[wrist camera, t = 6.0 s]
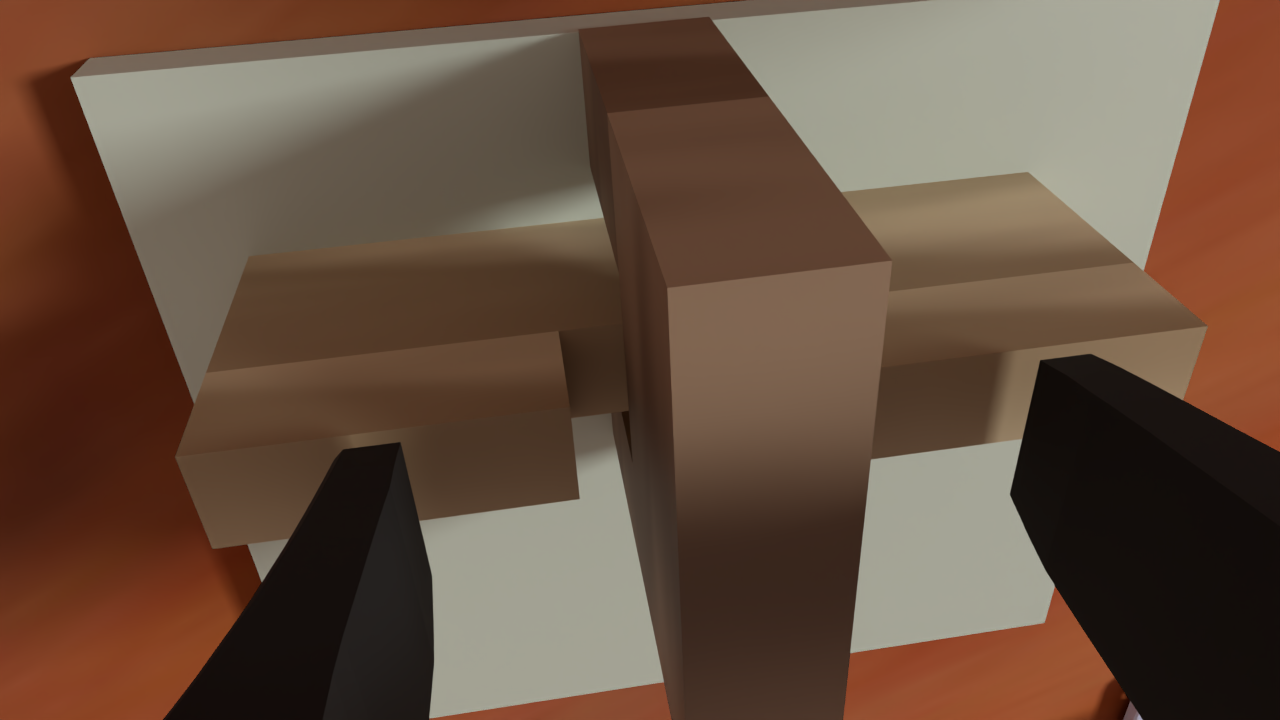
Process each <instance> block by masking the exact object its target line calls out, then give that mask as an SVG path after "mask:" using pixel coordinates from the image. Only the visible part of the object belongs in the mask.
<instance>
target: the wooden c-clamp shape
mask: <svg viewBox="0 0 1280 720" xmlns="http://www.w3.org/2000/svg"><path fill="white" fill-rule="evenodd" d="M578 31H579V43H580V55H581V66H582V78H583V90H584V101H585V113H586V125H587V136H588V148H589V160H590V169H591V172H592V176H593V180H594V183H595V187H596V191H597V194H598V198H599V202H600V206H601V209H602V213H603V217H604V220H605V224H606V228H607V231H608V235H609V239H610V242H611V246H612V250H613V254H614V257H615V261H616V265H617V268H618V272H619V282H620V295H621V309H622V323H623V336H624V350H625V364H626V378H627V391H628V405H629V411H624V412H616V413H611V416H612V427H613V435H614V440H615V445H616V450H617V455H618V460H619V465H620V470H621V475H622V479H623V484H624V489H625V494H626V499H627V504H628V509H629V514H630V518H631V523H632V528H633V533H634V538H635V543H636V548H637V553H638V557H639V562H640V567H641V572H642V577H643V582H644V587H645V592H646V597H647V601H648V606H649V611H650V616H651V621H652V626H653V631H654V636H655V640H656V645H657V650H658V655H659V660H660V665H661V670H662V675H663V679H664V684H665V689H666V694H667V699H668V704H669V709H670V714H671V719H672V720H843V715H844V705H845V696H846V687H847V677H848V668H849V659H850V650H851V640H852V631H853V622H854V612H855V603H856V594H857V584H858V575H859V566H860V557H861V547H862V538H863V529H864V519H865V510H866V501H867V491H868V482H869V473H870V464H871V454H872V445H873V436H874V426H875V417H876V408H877V398H878V389H879V380H880V371H881V361H882V352H883V343H884V333H885V324H886V315H887V305H888V296H889V287H890V278H891V268H892V259H891V258H890V257H889V255H888V254H887V253H886V251H885V250H884V249H883V248H882V246H881V245H880V244H879V242H878V241H877V240H876V238H875V237H874V236H873V234H872V233H871V232H870V230H869V229H868V228H867V226H866V225H865V224H864V222H863V221H862V220H861V218H860V217H859V216H858V214H857V213H856V212H855V210H854V209H853V208H852V206H851V205H850V204H849V202H848V201H847V200H846V198H845V197H844V196H843V194H842V193H841V192H840V190H839V189H838V188H837V186H836V185H835V184H834V182H833V181H832V180H831V178H830V177H829V176H828V174H827V173H826V172H825V170H824V169H823V168H822V166H821V165H820V164H819V162H818V161H817V160H816V158H815V157H814V156H813V154H812V153H811V152H810V150H809V149H808V148H807V146H806V145H805V144H804V142H803V141H802V140H801V138H800V137H799V136H798V134H797V133H796V132H795V130H794V129H793V128H792V126H791V125H790V124H789V122H788V121H787V120H786V118H785V117H784V116H783V114H782V113H781V112H780V110H779V109H778V108H777V106H776V105H775V104H774V102H773V101H772V100H771V98H770V97H769V96H768V94H767V93H766V92H765V90H764V89H763V88H762V86H761V85H760V84H759V82H758V81H757V80H756V78H755V77H754V76H753V74H752V73H751V72H750V70H749V69H748V68H747V66H746V65H745V64H744V62H743V61H742V60H741V58H740V57H739V56H738V54H737V53H736V52H735V50H734V49H733V48H732V46H731V45H730V44H729V42H728V41H727V40H726V38H725V37H724V36H723V34H722V33H721V32H720V30H719V29H718V28H717V26H716V25H715V24H714V22H713V21H712V20H711V18H710V17H700V18H690V19H680V20H669V21H659V22H648V23H638V24H628V25H617V26H607V27H596V28H586V29H578Z"/></svg>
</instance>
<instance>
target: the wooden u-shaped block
mask: <svg viewBox="0 0 1280 720" xmlns="http://www.w3.org/2000/svg"><path fill="white" fill-rule="evenodd" d="M841 193H842V194H843V196H844V197H845V198H846V200H847V201H848V202H849V204H850V205H851V206H852V208H853V209H854V210H855V212H856V213H857V214H858V216H859V217H860V218H861V220H862V221H863V222H864V224H865V225H866V226H867V228H868V229H869V230H870V232H871V233H872V234H873V236H874V237H875V238H876V240H877V241H878V242H879V244H880V245H881V246H882V248H883V249H884V250H885V251H886V253H887V254H888V255H889V257H890V258H891V259H892V268H891V278H890V287H889V296H888V305H887V315H886V324H885V333H884V343H883V352H882V361H881V371H880V380H879V389H878V398H877V408H876V417H875V426H874V436H873V445H872V454H871V459H879V458H886V457H894V456H901V455H908V454H916V453H923V452H930V451H938V450H945V449H952V448H960V447H967V446H974V445H982V444H989V443H997V442H1004V441H1011V440H1019V439H1022V438H1023V433H1024V429H1025V425H1026V420H1027V416H1028V411H1029V407H1030V402H1031V398H1032V394H1033V389H1034V385H1035V380H1036V376H1037V372H1038V367H1039V363H1040V360H1045V359H1053V358H1061V357H1069V356H1076V355H1084V354H1093V355H1095V356H1097V357H1099V358H1102V359H1104V360H1106V361H1108V362H1110V363H1112V364H1114V365H1116V366H1119V367H1121V368H1123V369H1125V370H1127V371H1128V372H1130V373H1132V374H1134V375H1136V376H1138V377H1140V378H1142V379H1144V380H1146V381H1148V382H1150V383H1152V384H1153V385H1155V386H1157V387H1159V388H1161V389H1163V390H1165V391H1167V392H1168V393H1170V394H1172V395H1174V396H1176V397H1178V398H1180V399H1181V400H1183V399H1184V396H1185V393H1186V390H1187V387H1188V384H1189V381H1190V378H1191V375H1192V372H1193V369H1194V366H1195V363H1196V360H1197V357H1198V354H1199V351H1200V348H1201V345H1202V342H1203V339H1204V336H1205V333H1206V330H1207V327H1208V326H1207V325H1206V324H1205V323H1204V322H1202V321H1201V320H1200V319H1199V318H1198V317H1197V316H1195V315H1194V314H1193V313H1192V312H1191V311H1190V310H1188V309H1187V308H1186V307H1185V306H1184V305H1183V304H1181V303H1180V302H1179V301H1178V300H1177V299H1176V298H1174V297H1173V296H1172V295H1171V294H1170V293H1169V292H1167V291H1166V290H1165V289H1164V288H1163V287H1162V286H1160V285H1159V284H1158V283H1157V282H1156V281H1155V280H1153V279H1152V278H1151V277H1150V276H1149V275H1148V274H1146V273H1145V272H1144V271H1143V270H1142V269H1141V268H1139V267H1138V266H1137V265H1136V264H1135V263H1134V262H1132V261H1131V260H1130V259H1129V258H1128V257H1127V256H1125V255H1124V254H1123V253H1122V252H1121V251H1120V250H1118V249H1117V248H1116V247H1115V246H1114V245H1113V244H1111V243H1110V242H1109V241H1108V240H1107V239H1106V238H1104V237H1103V236H1102V235H1101V234H1100V233H1099V232H1097V231H1096V230H1095V229H1094V228H1093V227H1092V226H1090V225H1089V224H1088V223H1087V222H1086V221H1085V220H1083V219H1082V218H1081V217H1080V216H1079V215H1078V214H1077V213H1075V212H1074V211H1073V210H1072V209H1071V208H1070V207H1068V206H1067V205H1066V204H1065V203H1064V202H1063V201H1061V200H1060V199H1059V198H1058V197H1057V196H1056V195H1054V194H1053V193H1052V192H1051V191H1050V190H1049V189H1047V188H1046V187H1045V186H1044V185H1043V184H1042V183H1040V182H1039V181H1038V180H1037V179H1036V178H1035V177H1033V176H1032V175H1031V174H1030V173H1029V172H1022V173H1013V174H1004V175H995V176H985V177H976V178H967V179H958V180H948V181H939V182H930V183H921V184H911V185H902V186H893V187H884V188H874V189H865V190H856V191H847V192H841ZM624 411H629V405H628V391H627V378H626V364H625V350H624V336H623V323H622V309H621V295H620V282H619V272H618V268H617V265H616V261H615V257H614V254H613V250H612V246H611V242H610V239H609V235H608V231H607V228H606V224H605V220H604V218H597V219H588V220H579V221H570V222H561V223H551V224H542V225H533V226H524V227H514V228H505V229H496V230H487V231H477V232H468V233H459V234H450V235H441V236H431V237H422V238H413V239H404V240H394V241H385V242H376V243H367V244H357V245H348V246H339V247H330V248H320V249H311V250H302V251H293V252H284V253H274V254H265V255H256V256H249V257H248V260H247V263H246V265H245V268H244V271H243V274H242V276H241V279H240V282H239V284H238V287H237V290H236V293H235V295H234V298H233V301H232V303H231V306H230V309H229V312H228V314H227V317H226V320H225V322H224V325H223V328H222V331H221V333H220V336H219V339H218V341H217V344H216V347H215V350H214V352H213V355H212V358H211V360H210V363H209V366H208V369H207V371H206V374H205V377H204V379H203V382H202V385H201V388H200V390H199V393H198V396H197V398H196V401H195V404H194V407H193V409H192V412H191V415H190V417H189V420H188V423H187V426H186V428H185V431H184V434H183V436H182V439H181V442H180V445H179V447H178V450H177V453H176V455H175V458H176V461H177V463H178V466H179V468H180V471H181V473H182V476H183V478H184V480H185V483H186V485H187V488H188V490H189V493H190V495H191V498H192V500H193V502H194V505H195V507H196V510H197V512H198V515H199V517H200V520H201V522H202V524H203V527H204V529H205V532H206V534H207V537H208V539H209V542H210V544H211V546H212V549H217V548H224V547H231V546H239V545H246V544H253V543H261V542H268V541H276V540H283V539H289V538H290V537H291V535H292V533H293V532H294V530H295V528H296V527H297V525H298V523H299V522H300V520H301V518H302V517H303V515H304V513H305V511H306V510H307V508H308V506H309V504H310V503H311V501H312V499H313V497H314V496H315V494H316V492H317V490H318V488H319V486H320V485H321V483H322V481H323V479H324V477H325V476H326V474H327V472H328V470H329V468H330V466H331V464H332V463H333V461H334V459H335V458H336V457H337V456H338V454H339V453H340V452H341V451H342V450H343V449H350V448H358V447H365V446H373V445H381V444H389V443H397V442H401V446H402V450H403V454H404V459H405V463H406V467H407V471H408V476H409V480H410V484H411V488H412V493H413V497H414V501H415V505H416V509H417V514H418V518H419V521H423V520H430V519H437V518H445V517H452V516H459V515H467V514H474V513H482V512H489V511H496V510H504V509H511V508H518V507H526V506H533V505H540V504H548V503H555V502H562V501H570V500H577V499H580V496H579V486H578V477H577V468H576V458H575V449H574V440H573V430H572V421H571V418H577V417H585V416H593V415H600V414H608V413H616V412H624Z"/></svg>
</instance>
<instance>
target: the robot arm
mask: <svg viewBox="0 0 1280 720" xmlns="http://www.w3.org/2000/svg"><path fill="white" fill-rule="evenodd" d="M1010 496H1011V498H1012V501H1013V503H1014V505H1015V507H1016V510H1017V512H1018V514H1019V516H1020V519H1021V521H1022V523H1023V525H1024V527H1025V530H1026V532H1027V534H1028V536H1029V538H1030V540H1031V542H1032V544H1033V546H1034V548H1035V550H1036V552H1037V555H1038V557H1039V559H1040V561H1041V563H1042V565H1043V567H1044V569H1045V571H1046V572H1047V574H1048V575H1049V577H1050V579H1051V580H1052V582H1053V583H1054V585H1055V587H1056V588H1057V590H1058V591H1059V593H1060V594H1061V596H1062V597H1063V599H1064V601H1065V602H1066V604H1067V605H1068V607H1069V608H1070V610H1071V611H1072V613H1073V614H1074V616H1075V618H1076V619H1077V621H1078V622H1079V624H1080V625H1081V627H1082V628H1083V630H1084V631H1085V633H1086V634H1087V636H1088V638H1089V639H1090V641H1091V642H1092V644H1093V645H1094V647H1095V648H1096V650H1097V651H1098V653H1099V654H1100V656H1101V657H1102V659H1103V660H1104V662H1105V663H1106V665H1107V666H1108V668H1109V669H1110V671H1111V672H1112V674H1113V675H1114V677H1115V678H1116V680H1117V681H1118V683H1119V684H1120V686H1121V688H1122V689H1123V691H1124V692H1125V694H1126V695H1127V697H1128V698H1129V700H1130V703H1129V706H1128V708H1127V711H1126V714H1125V716H1124V719H1123V720H1280V452H1279V451H1277V450H1275V449H1273V448H1271V447H1269V446H1267V445H1265V444H1263V443H1262V442H1260V441H1258V440H1256V439H1254V438H1252V437H1250V436H1248V435H1246V434H1245V433H1243V432H1241V431H1239V430H1237V429H1235V428H1233V427H1231V426H1230V425H1228V424H1226V423H1224V422H1222V421H1220V420H1218V419H1217V418H1215V417H1213V416H1211V415H1209V414H1207V413H1205V412H1204V411H1202V410H1200V409H1198V408H1196V407H1194V406H1192V405H1191V404H1189V403H1187V402H1185V401H1183V400H1181V399H1180V398H1178V397H1176V396H1174V395H1172V394H1170V393H1168V392H1167V391H1165V390H1163V389H1161V388H1159V387H1157V386H1155V385H1153V384H1152V383H1150V382H1148V381H1146V380H1144V379H1142V378H1140V377H1138V376H1136V375H1134V374H1132V373H1130V372H1128V371H1127V370H1125V369H1123V368H1121V367H1119V366H1116V365H1114V364H1112V363H1110V362H1108V361H1106V360H1104V359H1102V358H1099V357H1097V356H1095V355H1093V354H1084V355H1076V356H1069V357H1061V358H1053V359H1045V360H1040V363H1039V367H1038V372H1037V376H1036V380H1035V385H1034V389H1033V394H1032V398H1031V402H1030V407H1029V411H1028V416H1027V420H1026V425H1025V429H1024V433H1023V438H1022V442H1021V447H1020V451H1019V455H1018V460H1017V464H1016V469H1015V473H1014V478H1013V482H1012V486H1011V491H1010ZM433 671H434V619H433V585H432V573H431V569H430V565H429V560H428V556H427V552H426V548H425V543H424V539H423V535H422V531H421V526H420V522H419V518H418V514H417V509H416V505H415V501H414V497H413V493H412V488H411V484H410V480H409V476H408V471H407V467H406V463H405V459H404V454H403V450H402V446H401V442H397V443H389V444H381V445H373V446H365V447H358V448H350V449H343V450H342V451H341V452H340V453H339V454H338V456H337V457H336V458H335V459H334V461H333V463H332V464H331V466H330V468H329V470H328V472H327V474H326V476H325V477H324V479H323V481H322V483H321V485H320V486H319V488H318V490H317V492H316V494H315V496H314V497H313V499H312V501H311V503H310V504H309V506H308V508H307V510H306V511H305V513H304V515H303V517H302V518H301V520H300V522H299V523H298V525H297V527H296V528H295V530H294V532H293V533H292V535H291V537H290V538H289V540H288V542H287V544H286V545H285V547H284V548H283V550H282V552H281V553H280V555H279V556H278V558H277V559H276V561H275V563H274V564H273V566H272V567H271V569H270V570H269V572H268V574H267V575H266V577H265V578H264V580H263V581H262V583H261V585H260V586H259V588H258V589H257V591H256V592H255V594H254V596H253V597H252V599H251V600H250V602H249V603H248V605H247V606H246V608H245V609H244V611H243V612H242V614H241V615H240V616H239V618H238V619H237V621H236V622H235V623H234V625H233V626H232V628H231V629H230V630H229V632H228V633H227V635H226V636H225V637H224V639H223V640H222V642H221V643H220V644H219V646H218V647H217V649H216V650H215V651H214V653H213V654H212V656H211V657H210V658H209V660H208V661H207V663H206V664H205V665H204V667H203V668H202V670H201V671H200V672H199V674H198V675H197V677H196V678H195V679H194V681H193V682H192V683H191V684H190V686H189V687H188V688H187V690H186V691H185V692H184V694H183V695H182V696H181V697H180V699H179V700H178V701H177V703H176V704H175V705H174V706H173V708H172V709H171V710H170V711H169V713H168V714H167V715H166V716H165V718H164V719H163V720H429V716H430V705H431V694H432V682H433Z"/></svg>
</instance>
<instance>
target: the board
mask: <svg viewBox="0 0 1280 720" xmlns="http://www.w3.org/2000/svg"><path fill="white" fill-rule="evenodd" d="M1219 1H1220V0H747V1H736V2H724V3H713V4H701V5H690V6H679V7H667V8H656V9H645V10H633V11H622V12H611V13H599V14H588V15H576V16H565V17H554V18H542V19H531V20H520V21H508V22H497V23H485V24H474V25H463V26H451V27H440V28H429V29H417V30H406V31H395V32H383V33H372V34H360V35H349V36H338V37H326V38H315V39H304V40H292V41H281V42H269V43H258V44H247V45H235V46H224V47H213V48H201V49H190V50H179V51H167V52H156V53H144V54H133V55H122V56H110V57H99V58H89V59H88V60H87V61H86V62H85V63H84V64H83V65H82V66H81V67H80V68H79V69H78V70H77V71H76V72H75V73H74V74H73V75H72V76H71V77H70V78H71V80H72V83H73V86H74V88H75V91H76V94H77V96H78V99H79V102H80V104H81V107H82V109H83V112H84V115H85V117H86V120H87V123H88V125H89V128H90V131H91V133H92V136H93V139H94V141H95V144H96V146H97V149H98V152H99V154H100V157H101V160H102V162H103V165H104V168H105V170H106V173H107V175H108V178H109V181H110V183H111V186H112V189H113V191H114V194H115V197H116V199H117V202H118V204H119V207H120V210H121V212H122V215H123V218H124V220H125V223H126V226H127V228H128V231H129V233H130V236H131V239H132V241H133V244H134V247H135V249H136V252H137V255H138V257H139V260H140V262H141V265H142V268H143V270H144V273H145V276H146V278H147V281H148V284H149V286H150V289H151V291H152V294H153V297H154V299H155V302H156V305H157V307H158V310H159V313H160V315H161V318H162V320H163V323H164V326H165V328H166V331H167V334H168V336H169V339H170V342H171V344H172V347H173V349H174V352H175V355H176V357H177V360H178V363H179V365H180V368H181V371H182V373H183V376H184V378H185V381H186V384H187V386H188V389H189V392H190V394H191V397H192V400H193V402H194V404H195V401H196V398H197V396H198V393H199V390H200V388H201V385H202V382H203V379H204V377H205V374H206V371H207V369H208V366H209V363H210V360H211V358H212V355H213V352H214V350H215V347H216V344H217V341H218V339H219V336H220V333H221V331H222V328H223V325H224V322H225V320H226V317H227V314H228V312H229V309H230V306H231V303H232V301H233V298H234V295H235V293H236V290H237V287H238V284H239V282H240V279H241V276H242V274H243V271H244V268H245V265H246V263H247V260H248V257H249V256H256V255H265V254H274V253H284V252H293V251H302V250H311V249H320V248H330V247H339V246H348V245H357V244H367V243H376V242H385V241H394V240H404V239H413V238H422V237H431V236H441V235H450V234H459V233H468V232H477V231H487V230H496V229H505V228H514V227H524V226H533V225H542V224H551V223H561V222H570V221H579V220H588V219H597V218H604V217H603V213H602V209H601V206H600V202H599V198H598V194H597V191H596V187H595V183H594V180H593V176H592V172H591V169H590V160H589V148H588V136H587V125H586V113H585V101H584V90H583V78H582V66H581V55H580V43H579V31H578V29H586V28H596V27H607V26H617V25H628V24H638V23H648V22H659V21H669V20H680V19H690V18H700V17H710V18H711V20H712V21H713V22H714V24H715V25H716V26H717V28H718V29H719V30H720V32H721V33H722V34H723V36H724V37H725V38H726V40H727V41H728V42H729V44H730V45H731V46H732V48H733V49H734V50H735V52H736V53H737V54H738V56H739V57H740V58H741V60H742V61H743V62H744V64H745V65H746V66H747V68H748V69H749V70H750V72H751V73H752V74H753V76H754V77H755V78H756V80H757V81H758V82H759V84H760V85H761V86H762V88H763V89H764V90H765V92H766V93H767V94H768V96H769V97H770V98H771V100H772V101H773V102H774V104H775V105H776V106H777V108H778V109H779V110H780V112H781V113H782V114H783V116H784V117H785V118H786V120H787V121H788V122H789V124H790V125H791V126H792V128H793V129H794V130H795V132H796V133H797V134H798V136H799V137H800V138H801V140H802V141H803V142H804V144H805V145H806V146H807V148H808V149H809V150H810V152H811V153H812V154H813V156H814V157H815V158H816V160H817V161H818V162H819V164H820V165H821V166H822V168H823V169H824V170H825V172H826V173H827V174H828V176H829V177H830V178H831V180H832V181H833V182H834V184H835V185H836V186H837V188H838V189H839V190H840V192H847V191H856V190H865V189H874V188H884V187H893V186H902V185H911V184H921V183H930V182H939V181H948V180H958V179H967V178H976V177H985V176H995V175H1004V174H1013V173H1022V172H1029V173H1030V174H1031V175H1032V176H1033V177H1035V178H1036V179H1037V180H1038V181H1039V182H1040V183H1042V184H1043V185H1044V186H1045V187H1046V188H1047V189H1049V190H1050V191H1051V192H1052V193H1053V194H1054V195H1056V196H1057V197H1058V198H1059V199H1060V200H1061V201H1063V202H1064V203H1065V204H1066V205H1067V206H1068V207H1070V208H1071V209H1072V210H1073V211H1074V212H1075V213H1077V214H1078V215H1079V216H1080V217H1081V218H1082V219H1083V220H1085V221H1086V222H1087V223H1088V224H1089V225H1090V226H1092V227H1093V228H1094V229H1095V230H1096V231H1097V232H1099V233H1100V234H1101V235H1102V236H1103V237H1104V238H1106V239H1107V240H1108V241H1109V242H1110V243H1111V244H1113V245H1114V246H1115V247H1116V248H1117V249H1118V250H1120V251H1121V252H1122V253H1123V254H1124V255H1125V256H1127V257H1128V258H1129V259H1130V260H1131V261H1132V262H1134V263H1135V264H1136V265H1137V266H1138V267H1139V268H1141V269H1142V270H1143V271H1144V267H1145V264H1146V260H1147V257H1148V253H1149V250H1150V246H1151V242H1152V239H1153V235H1154V232H1155V228H1156V225H1157V221H1158V218H1159V214H1160V210H1161V207H1162V203H1163V200H1164V196H1165V193H1166V189H1167V186H1168V182H1169V179H1170V175H1171V171H1172V168H1173V164H1174V161H1175V157H1176V154H1177V150H1178V147H1179V143H1180V139H1181V136H1182V132H1183V129H1184V125H1185V122H1186V118H1187V115H1188V111H1189V107H1190V104H1191V100H1192V97H1193V93H1194V90H1195V86H1196V83H1197V79H1198V75H1199V72H1200V68H1201V65H1202V61H1203V58H1204V54H1205V51H1206V47H1207V43H1208V40H1209V36H1210V33H1211V29H1212V26H1213V22H1214V19H1215V15H1216V11H1217V8H1218V4H1219ZM571 421H572V430H573V440H574V449H575V458H576V468H577V477H578V486H579V496H580V499H577V500H570V501H562V502H555V503H548V504H540V505H533V506H526V507H518V508H511V509H504V510H496V511H489V512H482V513H474V514H467V515H459V516H452V517H445V518H437V519H430V520H423V521H419V522H420V526H421V531H422V535H423V539H424V543H425V548H426V552H427V556H428V560H429V565H430V569H431V573H432V585H433V619H434V671H433V682H432V694H431V705H430V716H429V718H435V717H442V716H448V715H454V714H461V713H467V712H474V711H480V710H487V709H493V708H500V707H506V706H512V705H519V704H525V703H532V702H538V701H545V700H551V699H557V698H564V697H570V696H577V695H583V694H590V693H596V692H603V691H609V690H615V689H622V688H628V687H635V686H641V685H648V684H654V683H660V682H664V679H663V675H662V670H661V665H660V660H659V655H658V650H657V645H656V640H655V636H654V631H653V626H652V621H651V616H650V611H649V606H648V601H647V597H646V592H645V587H644V582H643V577H642V572H641V567H640V562H639V557H638V553H637V548H636V543H635V538H634V533H633V528H632V523H631V518H630V514H629V509H628V504H627V499H626V494H625V489H624V484H623V479H622V475H621V470H620V465H619V460H618V455H617V450H616V445H615V440H614V435H613V427H612V416H611V413H608V414H600V415H593V416H585V417H577V418H571ZM1021 442H1022V439H1019V440H1011V441H1004V442H997V443H989V444H982V445H974V446H967V447H960V448H952V449H945V450H938V451H930V452H923V453H916V454H908V455H901V456H894V457H886V458H879V459H871V464H870V473H869V482H868V491H867V501H866V510H865V519H864V529H863V538H862V547H861V557H860V566H859V575H858V584H857V594H856V603H855V612H854V622H853V631H852V640H851V650H850V653H854V652H860V651H866V650H873V649H879V648H886V647H892V646H899V645H905V644H912V643H918V642H924V641H931V640H937V639H944V638H950V637H957V636H963V635H969V634H976V633H982V632H989V631H995V630H1002V629H1008V628H1015V627H1021V626H1027V625H1034V624H1040V623H1045V619H1046V616H1047V612H1048V609H1049V605H1050V601H1051V598H1052V594H1053V591H1054V587H1055V585H1054V583H1053V582H1052V580H1051V579H1050V577H1049V575H1048V574H1047V572H1046V571H1045V569H1044V567H1043V565H1042V563H1041V561H1040V559H1039V557H1038V555H1037V552H1036V550H1035V548H1034V546H1033V544H1032V542H1031V540H1030V538H1029V536H1028V534H1027V532H1026V530H1025V527H1024V525H1023V523H1022V521H1021V519H1020V516H1019V514H1018V512H1017V510H1016V507H1015V505H1014V503H1013V501H1012V498H1011V496H1010V491H1011V486H1012V482H1013V478H1014V473H1015V469H1016V464H1017V460H1018V455H1019V451H1020V447H1021ZM288 540H289V539H283V540H276V541H268V542H261V543H253V544H247V545H248V547H249V550H250V553H251V555H252V558H253V560H254V563H255V566H256V568H257V571H258V574H259V576H260V579H261V582H262V581H263V580H264V578H265V577H266V575H267V574H268V572H269V570H270V569H271V567H272V566H273V564H274V563H275V561H276V559H277V558H278V556H279V555H280V553H281V552H282V550H283V548H284V547H285V545H286V544H287V542H288Z"/></svg>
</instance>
